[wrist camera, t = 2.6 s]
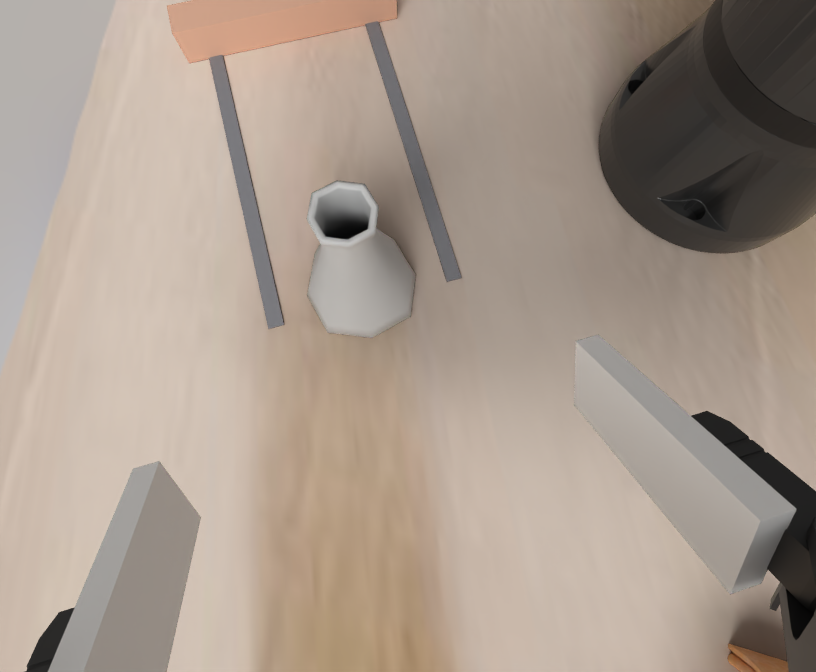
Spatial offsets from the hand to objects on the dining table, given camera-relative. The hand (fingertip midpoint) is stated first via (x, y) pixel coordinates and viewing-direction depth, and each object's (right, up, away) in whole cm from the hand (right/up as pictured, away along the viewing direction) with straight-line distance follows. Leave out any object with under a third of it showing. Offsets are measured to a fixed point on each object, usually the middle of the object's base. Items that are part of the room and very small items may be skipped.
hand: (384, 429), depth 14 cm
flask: (-2, +6, +15) cm, 17 cm away
